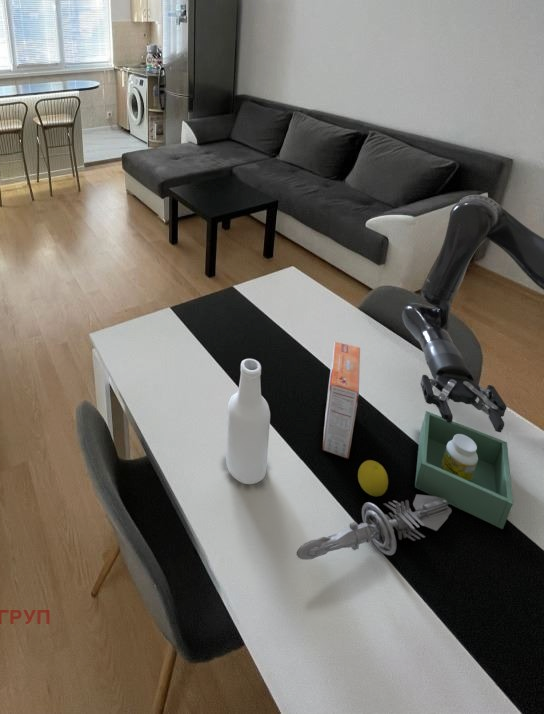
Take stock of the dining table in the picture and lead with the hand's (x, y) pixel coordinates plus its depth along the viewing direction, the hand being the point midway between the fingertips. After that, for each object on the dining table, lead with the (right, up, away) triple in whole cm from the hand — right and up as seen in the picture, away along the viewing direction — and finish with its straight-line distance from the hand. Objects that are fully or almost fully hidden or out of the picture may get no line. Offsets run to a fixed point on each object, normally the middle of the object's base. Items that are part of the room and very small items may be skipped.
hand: (474, 424), depth 86 cm
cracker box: (-20, -12, +18) cm, 29 cm away
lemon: (-19, -17, +4) cm, 26 cm away
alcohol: (-44, -16, +11) cm, 48 cm away
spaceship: (-22, -20, -4) cm, 30 cm away
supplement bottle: (+1, -14, +6) cm, 16 cm away
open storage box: (+1, -15, +6) cm, 16 cm away
